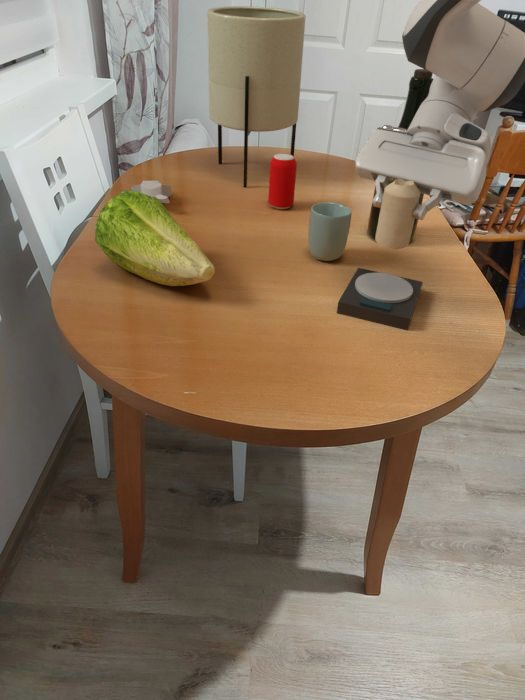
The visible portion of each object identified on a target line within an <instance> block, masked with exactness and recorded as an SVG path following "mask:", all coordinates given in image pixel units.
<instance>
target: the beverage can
mask: <svg viewBox="0 0 525 700" xmlns="http://www.w3.org/2000/svg"><path fill="white" fill-rule="evenodd" d="M297 167H298V163H297V161H296V158H295V156H294V157H293V156H292V155H290V154H289V153H277V154H275V155H273V157H272V158H271V160H270V163H269V177H268V179H269V180H268V196H267V197H268V198H267V201H268V204H269V206H270V207H272V208H273V209H276V210H281V211H282V210H287V209H289V208H292V207H293V206H294V202H295V191H296V190H295V189H296V180H297V179H296V178H297Z"/></svg>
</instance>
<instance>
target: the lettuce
mask: <svg viewBox="0 0 525 700" xmlns="http://www.w3.org/2000/svg"><path fill="white" fill-rule="evenodd" d="M97 217H98V218H97V220H96V222H95V227H94V229H95V230H94V242H95V243H96V244H97V246H98V247H99V248H100V249H101V251H102V252H103V253H104V254H105V255H106V257H107V258H108V259H109V260H110V261H111V262H113V263H114V265H116V266H118V268H121V269H122V270H125V271H127V272H129V273H131V274H134V275H135V276H136V275H137V276H139V277H140V278H143V279H145V280H147V281H150V282H153V283H156V284H159V285H164V286H169V287H184V286H191V285H196V284H200V283H205V282H208V281H209V280H211V279H212V278H213V276H214V274H215V266H214V264H213V263H212V261H210V260H209V258H208V257H207V255H206V253H204V252H203V250H202V249H201V248H200V246H199V245H198V244H197V242H195V241H194V240H193V238H191V237H190V236H189V235H188V233H187V232H186V231H185V229H184V228H183V227H182V226H181V225H180V223H179V222H178V221H177V220H176V219H175V218H173V216H172V215H171V213H170V212H169V210H168V208H167V207H166V206H165V205H164V203H163V204H162V203H161V202H160V201H159V200H158V199H156V198H153V197H151V196H148V195H146V194H143V193H140V192H137V191H131V189H130V190H129V189H125V190H123V191H121V192H120V193H118V194H116V195H114V196H113V197H111V198H110V200H108V202H107V203H106V204H105V205H104V206H103V207H102V208H101V209H100V211H99V214H98V216H97Z"/></svg>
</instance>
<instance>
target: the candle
mask: <svg viewBox="0 0 525 700" xmlns="http://www.w3.org/2000/svg"><path fill="white" fill-rule="evenodd" d="M420 194H421V193H420V191H419V189H418V188H417V186H416V185H415V183H414V181H404V180H403V179H401V178H397V179H396V180H395V181H394V182H392V183H391V184H389V185H388V186H386V187H385V189H384V194H383V199H382V204H381V210H380V215H379V220H378V226H377V231H376V237H375V242H376V244H378V245H379V246H381V247H384V248H385V249H392V250H401V249H406V248H407V247H408V246H409V244H410V242H411V241H410V237H411V233H412V229H413V224H414V220H415V218H413V215H412V214H413V211H414V209H416V208H415V207H416V205H417V203H419V198H420ZM409 241H410V242H409Z"/></svg>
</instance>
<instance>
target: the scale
mask: <svg viewBox="0 0 525 700" xmlns="http://www.w3.org/2000/svg"><path fill="white" fill-rule="evenodd" d="M423 284H424V283H423V280H422V281H421V280H416V279H411V278H407V277H402V276H398V275H395V274H391V273H386V272H380V271H375V270H371V269H367V268H362V267H357V269H356V270H355V272H354V274H353V276H352V278H351V279H350V280H349V282H348V285H347V286H346V288H345V289H344V291H343V293H342V295H341V296H340V298H339V300H338V301H337V308H336V314H339V315H344V316H349V317H352V318H356V319H360V320H364V321H369V322H373V323H376V324H380V325H385V326H388V327H393V328H397V329H401V330H406V331H409V328H410V327H409V326H410V325H411V321H412V319H413V316H414V312H415V310H416V306H417V303H418V300H419V297H420V294H421V291H422V287H423Z"/></svg>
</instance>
